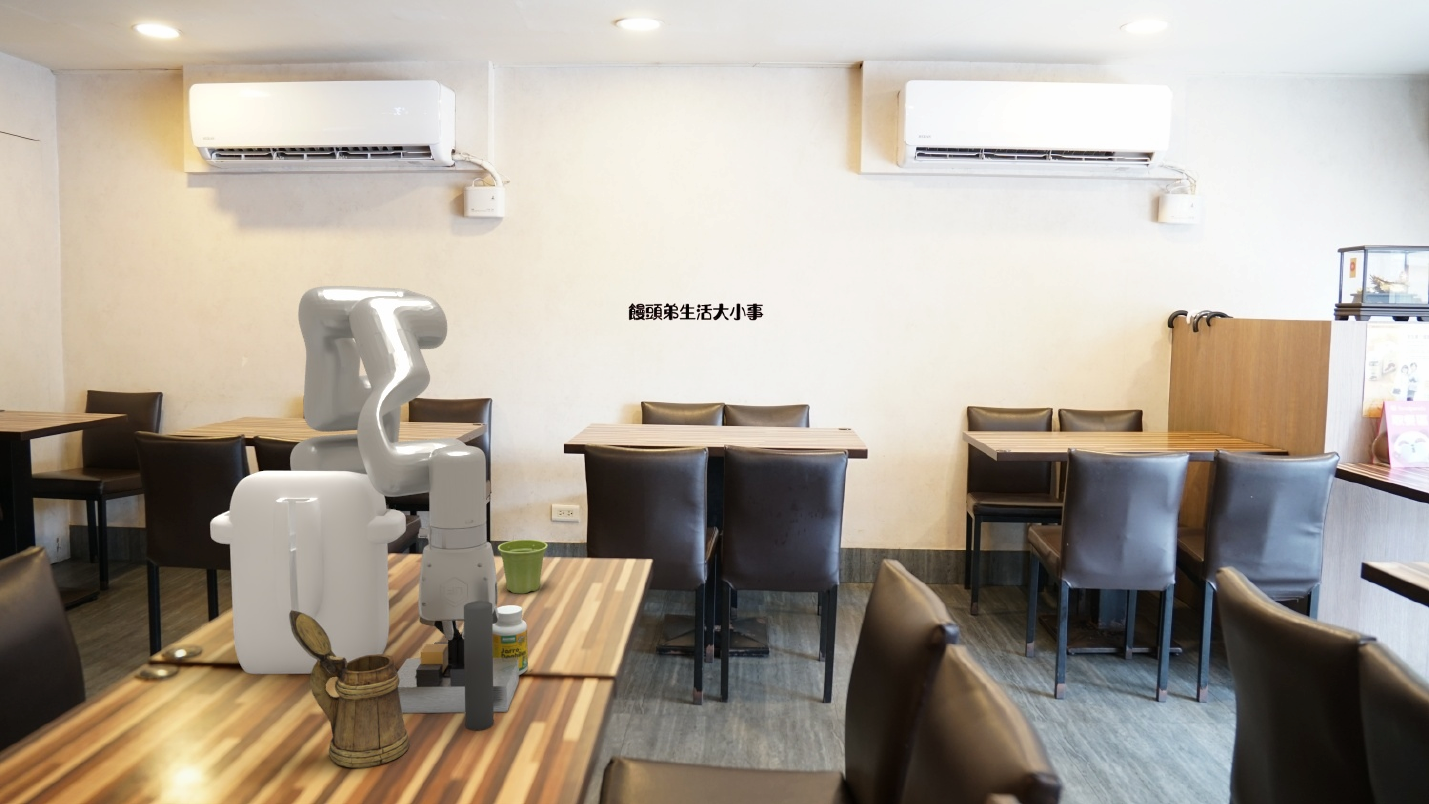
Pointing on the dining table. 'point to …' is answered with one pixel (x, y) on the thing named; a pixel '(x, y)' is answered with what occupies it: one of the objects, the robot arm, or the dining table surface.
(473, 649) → the post
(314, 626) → the wooden mug
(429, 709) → the breaker panel
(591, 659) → the dining table surface
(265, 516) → the toaster
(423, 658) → the block
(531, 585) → the plant pot
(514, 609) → the supplement bottle
